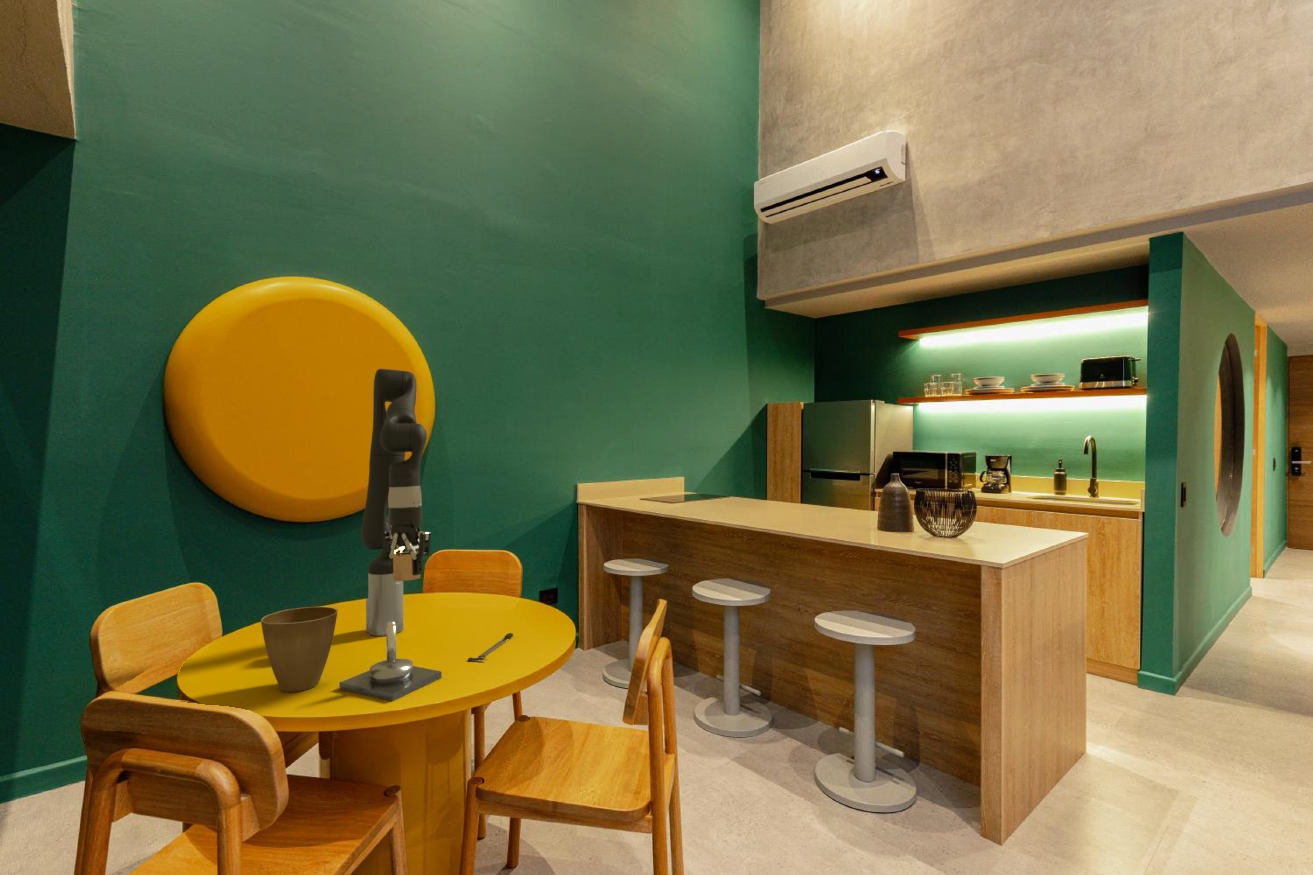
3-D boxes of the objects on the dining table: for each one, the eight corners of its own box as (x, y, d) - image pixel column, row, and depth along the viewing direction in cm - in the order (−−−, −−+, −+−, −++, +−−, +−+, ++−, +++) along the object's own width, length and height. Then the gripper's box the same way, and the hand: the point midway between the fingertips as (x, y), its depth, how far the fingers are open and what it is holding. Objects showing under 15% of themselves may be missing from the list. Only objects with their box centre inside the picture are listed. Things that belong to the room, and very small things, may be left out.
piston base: (339, 689, 137) (339, 625, 137) (390, 667, 149) (390, 609, 149) (392, 701, 130) (392, 634, 130) (441, 677, 143) (441, 616, 143)
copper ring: (388, 579, 150) (387, 555, 150) (407, 575, 155) (406, 551, 155) (406, 581, 147) (406, 556, 147) (425, 576, 153) (425, 551, 153)
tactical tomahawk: (490, 668, 152) (491, 663, 152) (466, 663, 153) (467, 658, 153) (528, 639, 172) (529, 635, 172) (507, 636, 174) (507, 632, 174)
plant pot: (341, 688, 137) (341, 616, 137) (261, 705, 129) (261, 627, 129) (334, 668, 149) (333, 602, 149) (260, 682, 141) (260, 611, 141)
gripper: (371, 506, 151) (372, 575, 151) (416, 506, 145) (417, 578, 145) (395, 503, 158) (396, 569, 158) (439, 503, 152) (440, 572, 152)
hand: (406, 573), depth 151 cm, fingers closed on copper ring, 6 cm apart
